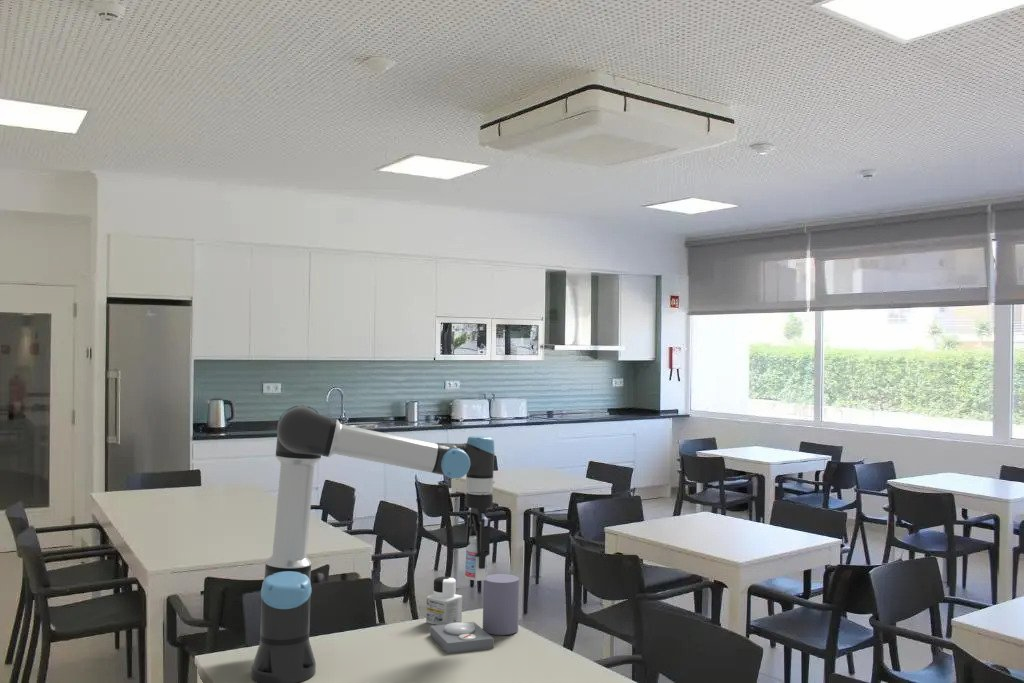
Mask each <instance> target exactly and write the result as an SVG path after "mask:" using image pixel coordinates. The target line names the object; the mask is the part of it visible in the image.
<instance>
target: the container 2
mask: <svg viewBox="0 0 1024 683" xmlns="http://www.w3.org/2000/svg"><path fill="white" fill-rule="evenodd" d="M482 594H483V598H482V600H483V601H482V629H483V630H484V631H485V632H487V633H488V634H489V635H490V636H498V637H499V636H501V637H503V636H505V637H506V636H511V635H514V634H516V633H518V631H519V615H520V613H519V610H520V609H519V608H520V604H519V602H520V577H518V576H517V575H515V574H514V575H513V574H509V573H508V574H507V573H506V574H505V573H493V574H487V577H486V579H485V580H483V592H482Z"/></svg>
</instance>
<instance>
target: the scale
mask: <svg viewBox="0 0 1024 683" xmlns="http://www.w3.org/2000/svg"><path fill="white" fill-rule="evenodd" d="M429 630H430V633H429V635H430V637H431V638H432V639H433V640H434V641H435V642H436V643H437V644H438V645H439V646H440V647H441V648H442V650H444V651H445V652H446V653H447V654H452V653H461V652H471V651H479V650H489V649H494V637H492V635H491V634H488V633H487V632H485V631H484V630H483V627H481V626H480V625H478V624H477V623H476V622H475V621H469V622H463V621H461V622H457V623H450V624H446V625H430V628H429Z"/></svg>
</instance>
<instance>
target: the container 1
mask: <svg viewBox="0 0 1024 683" xmlns="http://www.w3.org/2000/svg"><path fill="white" fill-rule="evenodd" d="M456 586H457V580H456V579H455V578H454V577H452V576H438V577H436V578H434V580H433V594H430V595H428V596H426V610H425V611H426V612H425V614H426V616H425V622H426V623H427V624H431V625H434V626H436V625H446V624H450V623H457V622H463V621H462V618H463V617H462V616H463V614H462V612H463V595H460V594H456V588H457V587H456Z"/></svg>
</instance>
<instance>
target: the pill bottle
mask: <svg viewBox="0 0 1024 683" xmlns="http://www.w3.org/2000/svg"><path fill="white" fill-rule="evenodd" d="M469 541H470V545H468V546H466V548H465V567H464V568H465V569H464V577H465V579H466V580H471V581H476V580H475V568H476V557H475V554H477V540H476V536H470V537H469ZM488 559H489V555H487V556H486V577H487V576H488V562H489V560H488ZM486 577H485V579H486Z"/></svg>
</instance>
